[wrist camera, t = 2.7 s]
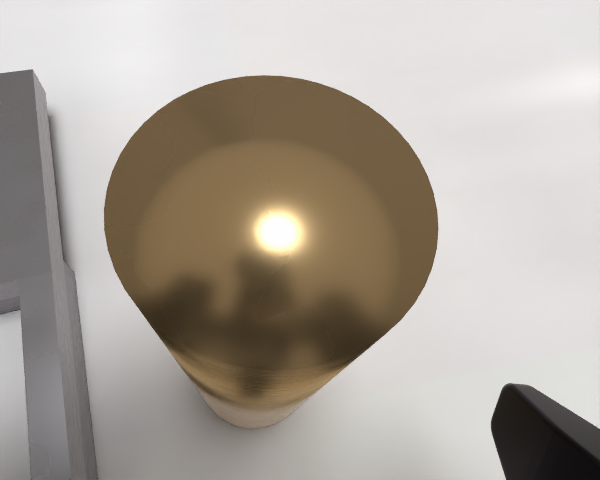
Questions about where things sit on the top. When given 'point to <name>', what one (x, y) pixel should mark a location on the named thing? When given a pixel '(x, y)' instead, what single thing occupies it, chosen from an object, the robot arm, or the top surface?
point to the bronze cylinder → (269, 237)
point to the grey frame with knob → (41, 288)
